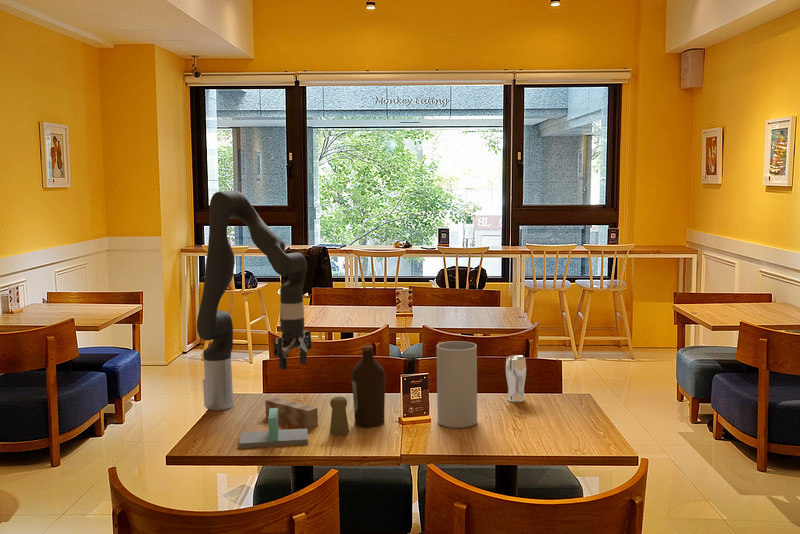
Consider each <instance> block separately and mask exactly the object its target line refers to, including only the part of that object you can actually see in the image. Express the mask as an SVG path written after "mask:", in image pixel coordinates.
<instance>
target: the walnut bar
mask: <svg viewBox="0 0 800 534" xmlns="http://www.w3.org/2000/svg"><path fill="white" fill-rule="evenodd" d="M264 401H265V403H264V405H265V418H268V417H269V409H270V408H278V422H282V423H286V424H289V425H293V426H298V427H301V428H303V429H306V428H307V430H309V429H312V428H315V427H317V426H319V415H318V414H319V412H318V411H319V410H318V407H316V406H310V405H307V404H304V403H303V404H302V403H299V402H294V401H292V400H291V401H290V400H286V399H282V398H279V397H274V396H273V397H272V398H269V399H265V400H264Z"/></svg>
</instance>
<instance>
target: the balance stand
mask: <svg viewBox="0 0 800 534" xmlns="http://www.w3.org/2000/svg"><path fill="white" fill-rule="evenodd" d="M267 424H268V430H259V431H242V432H241V433H240V438H239V441H238V442H239V443H238V448H239V449H250V448H251V449H252V448H267V447H284V446H301V445H308V444H309V436H308V434H309V433H308V428H295V429H294V428H292V429H279V421H278V408H270V409H269V417H268V422H267Z"/></svg>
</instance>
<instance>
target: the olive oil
mask: <svg viewBox="0 0 800 534" xmlns="http://www.w3.org/2000/svg"><path fill="white" fill-rule="evenodd" d="M373 348H374V346H373V345H369V344H367V345H363V346H362V358H361V359H360V361H358V363H357V364H356V365H355V366H354V368H353V370H352V373H351V385H352V387H351V388H352V397H353V398H352V399H353V411H354V423H355V425H356V426H357V427H360V426H361V427H362V428H375V427H380V426H383V425H384V424H385V402H386V401H385V397H386V373H385V369H384V367H383V366H382V365H381V364H380V363H379V362H378V361H377V360H376V359H375V358H374V350H373ZM361 427H360V428H361Z"/></svg>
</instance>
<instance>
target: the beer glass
mask: <svg viewBox="0 0 800 534" xmlns="http://www.w3.org/2000/svg"><path fill="white" fill-rule="evenodd" d="M526 375H527V362H526V357H525V356H523V355H509V356H506V361H505V376H506V382H507V388H508V389H507V390H508V391H507V397H506V398H507V399H506V400H507V401H508V402H511V403H522V402H525V401H526V397H525V382H526Z"/></svg>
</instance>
